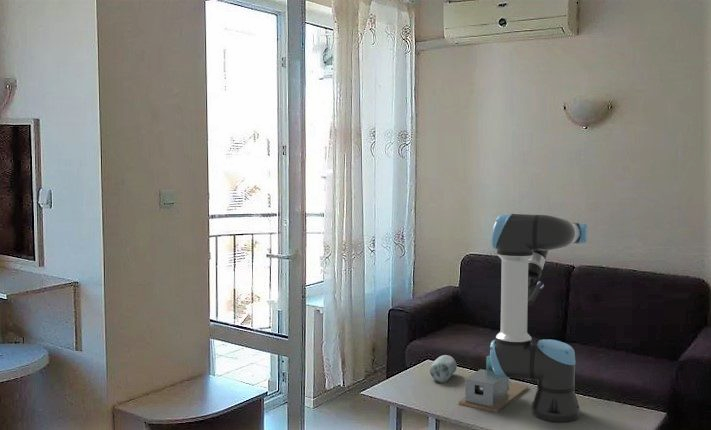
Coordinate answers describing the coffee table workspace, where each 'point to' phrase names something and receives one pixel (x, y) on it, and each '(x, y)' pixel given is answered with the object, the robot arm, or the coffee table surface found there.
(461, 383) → the coffee table surface
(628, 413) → the coffee table surface
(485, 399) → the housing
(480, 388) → the block
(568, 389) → the robot arm
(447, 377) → the spool
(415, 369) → the coffee table surface
